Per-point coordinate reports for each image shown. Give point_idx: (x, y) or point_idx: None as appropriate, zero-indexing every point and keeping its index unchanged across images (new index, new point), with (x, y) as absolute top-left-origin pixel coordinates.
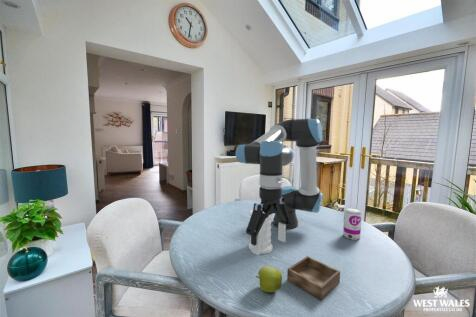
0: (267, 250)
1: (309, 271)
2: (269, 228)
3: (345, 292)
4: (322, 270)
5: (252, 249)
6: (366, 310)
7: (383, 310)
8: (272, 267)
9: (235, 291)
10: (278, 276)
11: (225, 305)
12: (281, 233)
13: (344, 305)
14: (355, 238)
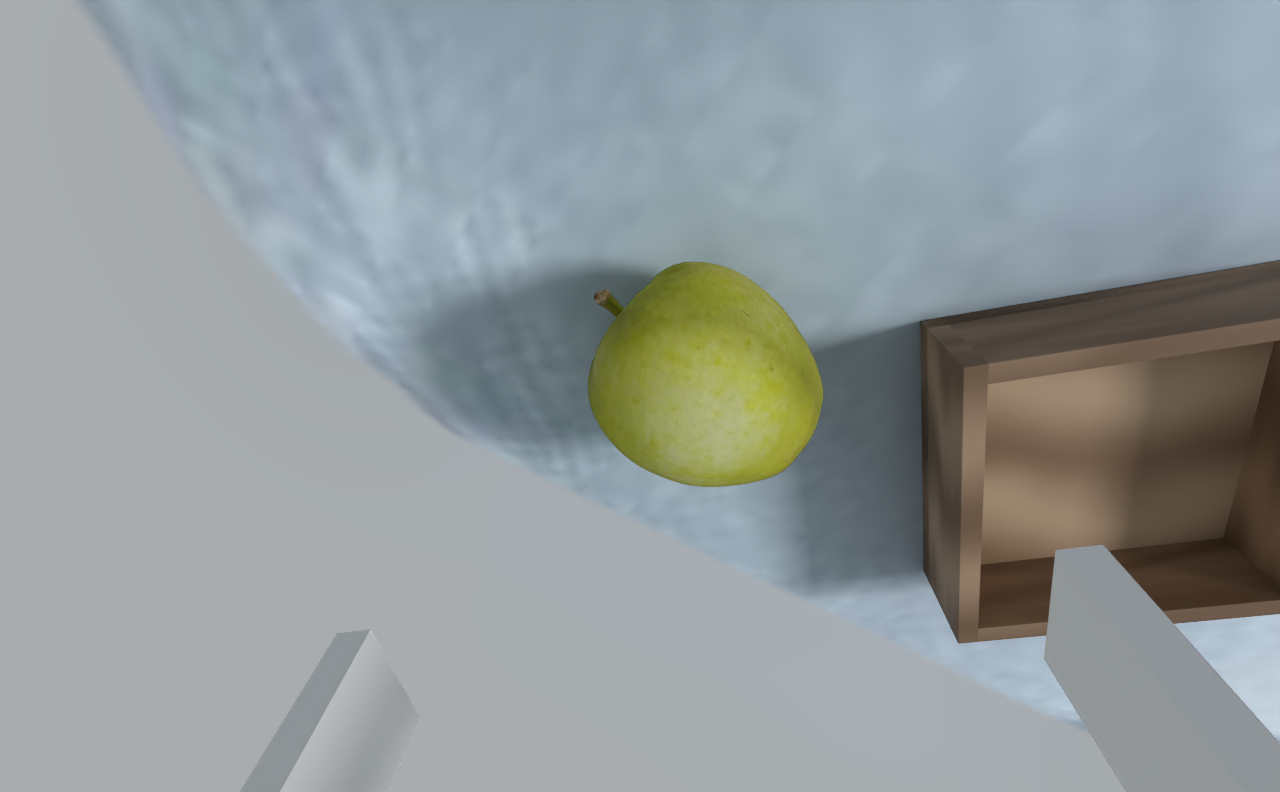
0: None
1: (1192, 360)
2: None
3: None
4: (1273, 449)
5: (317, 684)
6: (1055, 705)
7: None
8: (749, 420)
9: (424, 214)
10: (739, 483)
11: (308, 309)
12: (1154, 770)
13: (1000, 645)
14: None
